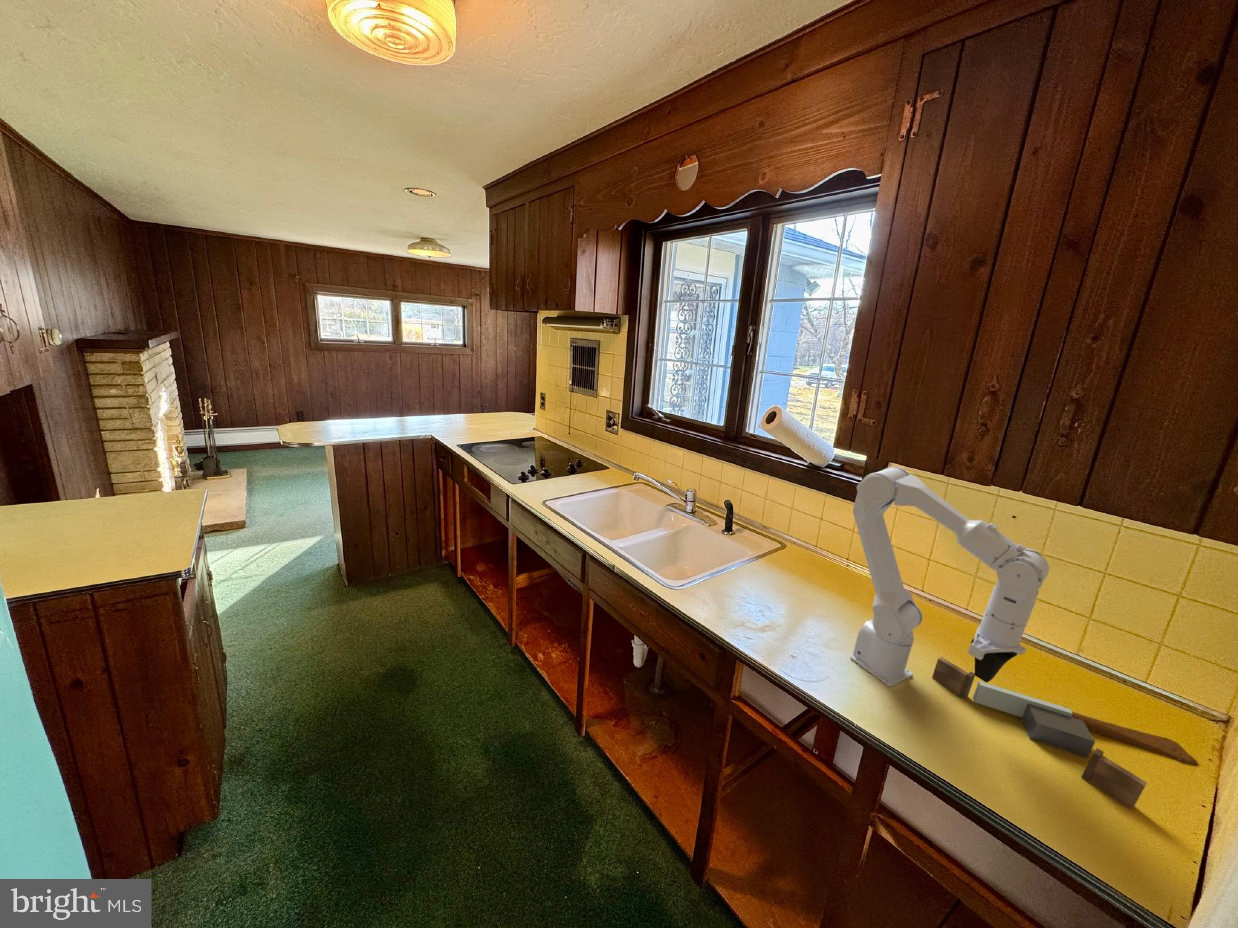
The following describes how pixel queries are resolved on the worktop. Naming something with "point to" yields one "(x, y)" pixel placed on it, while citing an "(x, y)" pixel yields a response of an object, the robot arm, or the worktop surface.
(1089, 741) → the block
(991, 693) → the pale grey-green bar
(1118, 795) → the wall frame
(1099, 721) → the primitive tool
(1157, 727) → the worktop surface
